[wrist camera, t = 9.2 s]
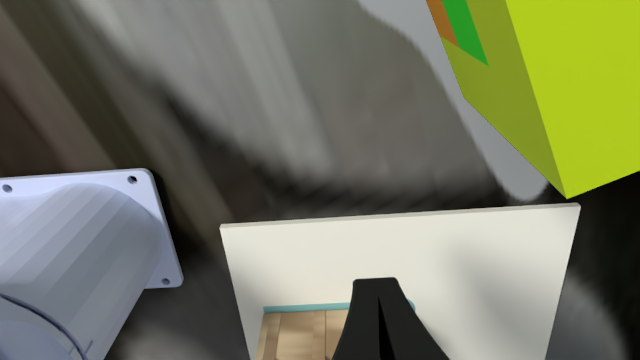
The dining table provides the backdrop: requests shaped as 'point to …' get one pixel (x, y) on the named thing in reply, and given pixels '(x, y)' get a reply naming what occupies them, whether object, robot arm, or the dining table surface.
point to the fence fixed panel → (300, 335)
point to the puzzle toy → (552, 81)
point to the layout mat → (416, 271)
